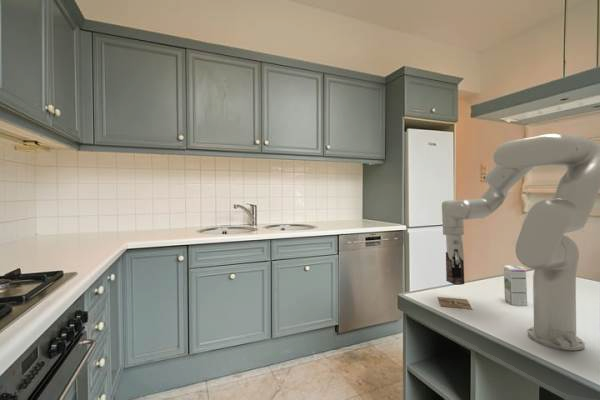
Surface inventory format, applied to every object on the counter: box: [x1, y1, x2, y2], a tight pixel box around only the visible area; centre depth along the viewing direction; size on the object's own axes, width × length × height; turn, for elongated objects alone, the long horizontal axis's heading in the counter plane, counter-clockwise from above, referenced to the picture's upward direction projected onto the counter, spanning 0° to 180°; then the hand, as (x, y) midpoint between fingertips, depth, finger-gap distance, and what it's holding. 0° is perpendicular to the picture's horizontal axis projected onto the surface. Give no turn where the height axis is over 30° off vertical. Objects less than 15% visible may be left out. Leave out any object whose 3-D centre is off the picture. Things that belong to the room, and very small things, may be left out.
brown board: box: [437, 296, 473, 310], centre depth 117 cm, size 11×11×1 cm
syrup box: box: [503, 264, 528, 306], centre depth 116 cm, size 6×6×14 cm
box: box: [445, 251, 465, 286], centre depth 117 cm, size 6×4×12 cm
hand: (455, 274), depth 117 cm, fingers closed on box, 6 cm apart
